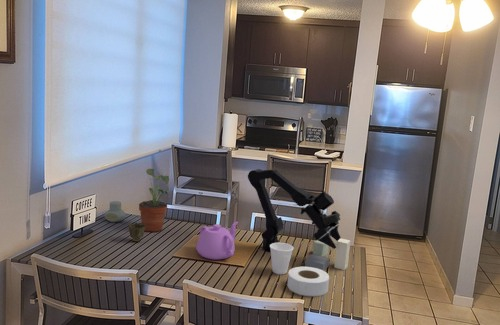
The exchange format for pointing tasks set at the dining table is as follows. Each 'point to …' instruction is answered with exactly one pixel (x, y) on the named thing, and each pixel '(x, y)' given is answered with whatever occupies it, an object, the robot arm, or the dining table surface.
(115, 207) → the air freshener
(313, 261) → the base block
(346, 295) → the dining table surface
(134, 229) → the cup
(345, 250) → the cream block
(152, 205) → the potted plant
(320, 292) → the roll of tape
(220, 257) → the teapot
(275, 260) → the cup
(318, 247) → the sage block
